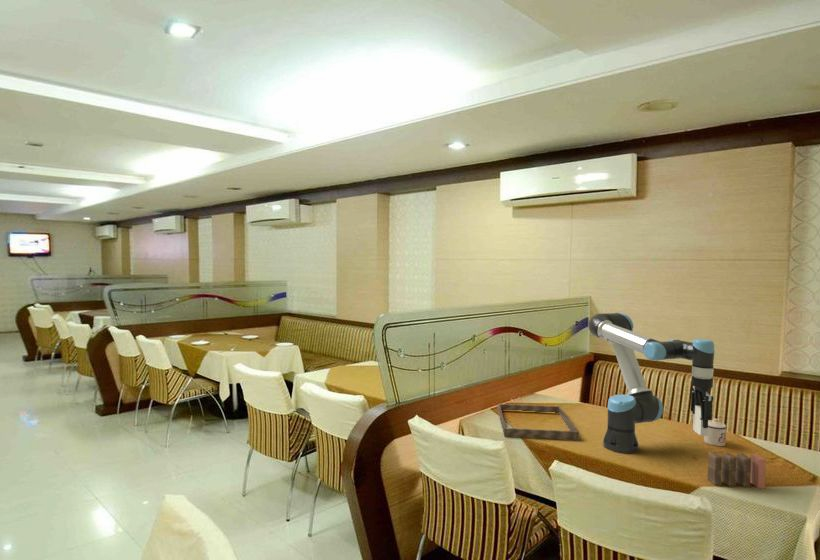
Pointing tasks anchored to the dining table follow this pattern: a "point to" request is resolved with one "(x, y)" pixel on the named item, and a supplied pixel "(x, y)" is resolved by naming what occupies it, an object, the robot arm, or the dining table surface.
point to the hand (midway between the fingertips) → (700, 432)
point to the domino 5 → (758, 471)
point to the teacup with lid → (716, 433)
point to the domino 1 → (697, 419)
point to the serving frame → (537, 433)
